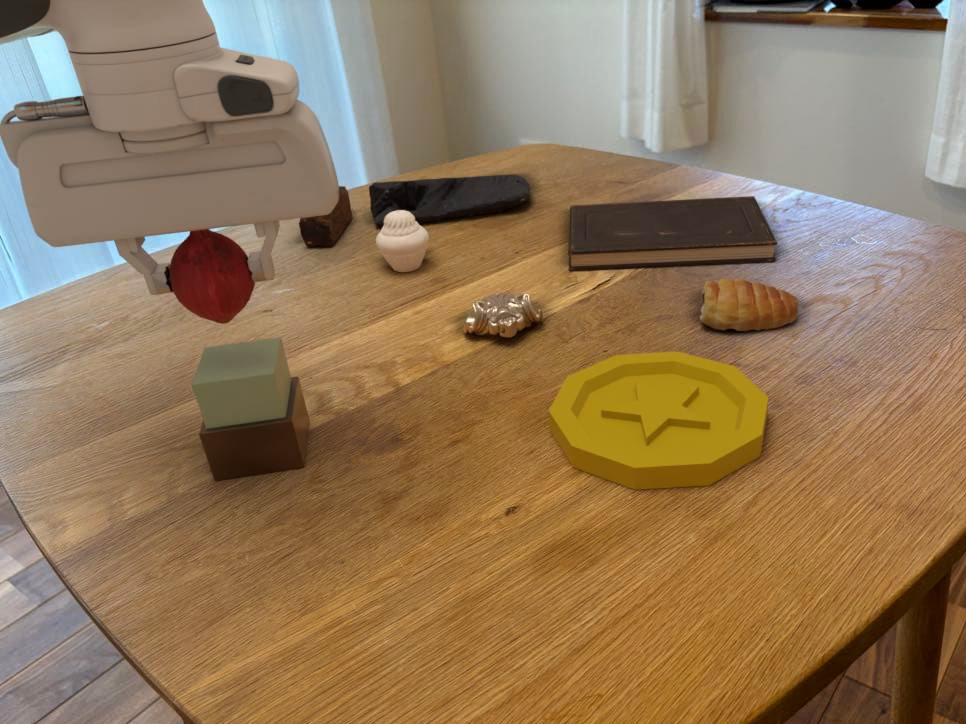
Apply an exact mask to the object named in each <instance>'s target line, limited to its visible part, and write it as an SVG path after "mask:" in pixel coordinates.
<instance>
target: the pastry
mask: <svg viewBox="0 0 966 724" xmlns="http://www.w3.org/2000/svg"><path fill="white" fill-rule="evenodd" d="M703 285H704V286H703V288H702V291H701V300H702V303H703V304H702V306H701V308H700V313H701V315H700V316H699V320H700V322H701V323H702V324H704V325H706V326H707V327H710V328H711V329H713V330H719V331H726V330H728V329H733V330H735V331H736V332H748V331H751V330H754V331H757V332H759V331H760V330H765V331H767V330H771V329H777V328H780V327H783V326H784V325H787V324H791V323H794V322H795V320H796V319H797V318H798V314H799V307H798V304H799V302H798V301H799V300H798V298H797V297H796V296H795V295H793V294H791V293H790V292H788V291H786V290H783V289H777V288H776V287H774V286H772V285H765V284H763V283H761V282H750V281H749V280H747V279H745V278H739V279H737V280H733V279H730V278H726V277H724V278H721V279H719V281H715V280H705V281H704V284H703Z"/></svg>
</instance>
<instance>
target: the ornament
mask: <svg viewBox="0 0 966 724" xmlns="http://www.w3.org/2000/svg"><path fill="white" fill-rule="evenodd" d="M471 305H472V308H471V310H469V313H468V314H467V316H466V319H465V321H464V323H463V326H462V331H463V333H464V334H468V333H469V334H474V333H475V335H477V336H480V337H481V336H485V335H486V334H488V333H489V334H490V335H493V336H496V335H498V334H499V336H500V337H502V338H512V337H514V336H516V335H517V334H518V332H521V331H522V330H523V329H525V328H528V329H529V328H530V327H531V326H532V323H539V322H540V321H542V320H543V318H544V314H543V310H542V309H541V308H539V309H538V310H535V309H534V308H533V305H532V300H531V296H530V294H529V293H527V292H526V293H517V294H515V295H514V294H512V293H503V292H500V293H498V294H490V295H488V296H487V297H483V298H482V299H480V300H479V299H477V300H475V301H473V302H472V304H471Z"/></svg>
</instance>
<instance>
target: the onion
mask: <svg viewBox="0 0 966 724" xmlns="http://www.w3.org/2000/svg"><path fill="white" fill-rule="evenodd" d="M248 258H249V255H247V253H246V251H245V250H244V249H243V248H242V247H241V246H240V244H239V243H237V242H236V241H235V240H233V239H232V238H230V237H228V236H227V235H225V234H222V233H220V232H216V231H213V230H212V229H205V230H197V231H189V234H188V235H187V237H186V238H185V239H184V240H183V241H182V242H181V243H180V244H179V245H178V246H177V247H176V249H175V251H174V252H173V255H172V257H171V258H170V262H169V263H170V271H169V276H170V281H171V285H172V290H173V292H172V293H173V295H174V296H175V298H176V299H177V301H178V303H180V304H181V305H182V306H183V307H184V308H185V309H186V310H188V311H189V312H191V313H192V314H194V315H195V316H197V317H198V318H201V319H204V320H207V321H211V322H215V323H217V324H221V325H223V324H228V323H230V322H232V320H233V319H234V318H235V317H236V316H237V315H238V314H239V313H241V312H242V311H243V309H244V308H245V307H246V306H247V304H248V303H249V302H250V300H251V297H252V294H253V291H254V288H255V286H256V282H253V281H252V278H251V274H252V272H251V271H250V270H249V267H248V263H247V261H248Z"/></svg>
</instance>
